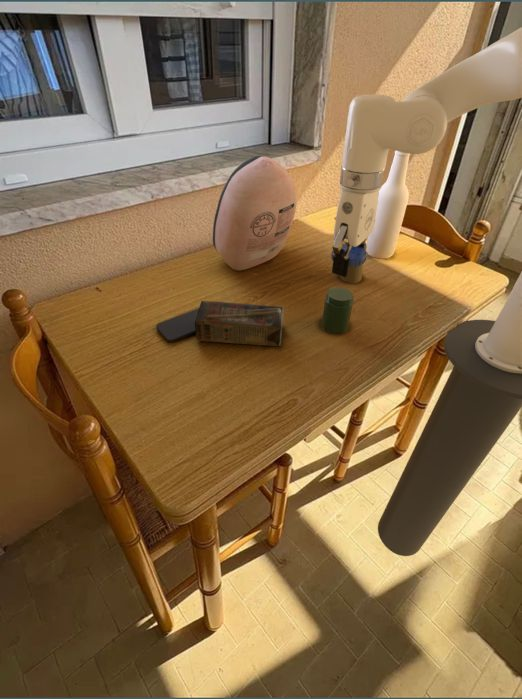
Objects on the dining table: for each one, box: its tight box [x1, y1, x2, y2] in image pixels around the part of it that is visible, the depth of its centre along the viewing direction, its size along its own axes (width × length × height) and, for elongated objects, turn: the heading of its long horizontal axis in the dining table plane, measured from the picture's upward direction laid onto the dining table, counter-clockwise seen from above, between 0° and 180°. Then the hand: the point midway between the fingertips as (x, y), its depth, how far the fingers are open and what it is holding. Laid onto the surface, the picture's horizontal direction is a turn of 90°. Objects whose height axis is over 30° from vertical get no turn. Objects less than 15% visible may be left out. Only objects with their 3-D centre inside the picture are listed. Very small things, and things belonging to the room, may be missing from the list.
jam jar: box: [320, 286, 355, 335], centre depth 88 cm, size 6×6×9 cm
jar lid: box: [330, 245, 368, 267], centre depth 78 cm, size 7×7×2 cm
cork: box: [339, 241, 367, 284], centre depth 104 cm, size 6×6×11 cm
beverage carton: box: [195, 300, 284, 347], centre depth 85 cm, size 8×19×7 cm, turn 86°
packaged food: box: [212, 155, 298, 272], centre depth 103 cm, size 22×20×30 cm
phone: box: [156, 308, 199, 343], centre depth 90 cm, size 7×1×15 cm
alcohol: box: [366, 150, 411, 259], centre depth 109 cm, size 9×9×30 cm
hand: (347, 266), depth 80 cm, fingers closed on jar lid, 6 cm apart
